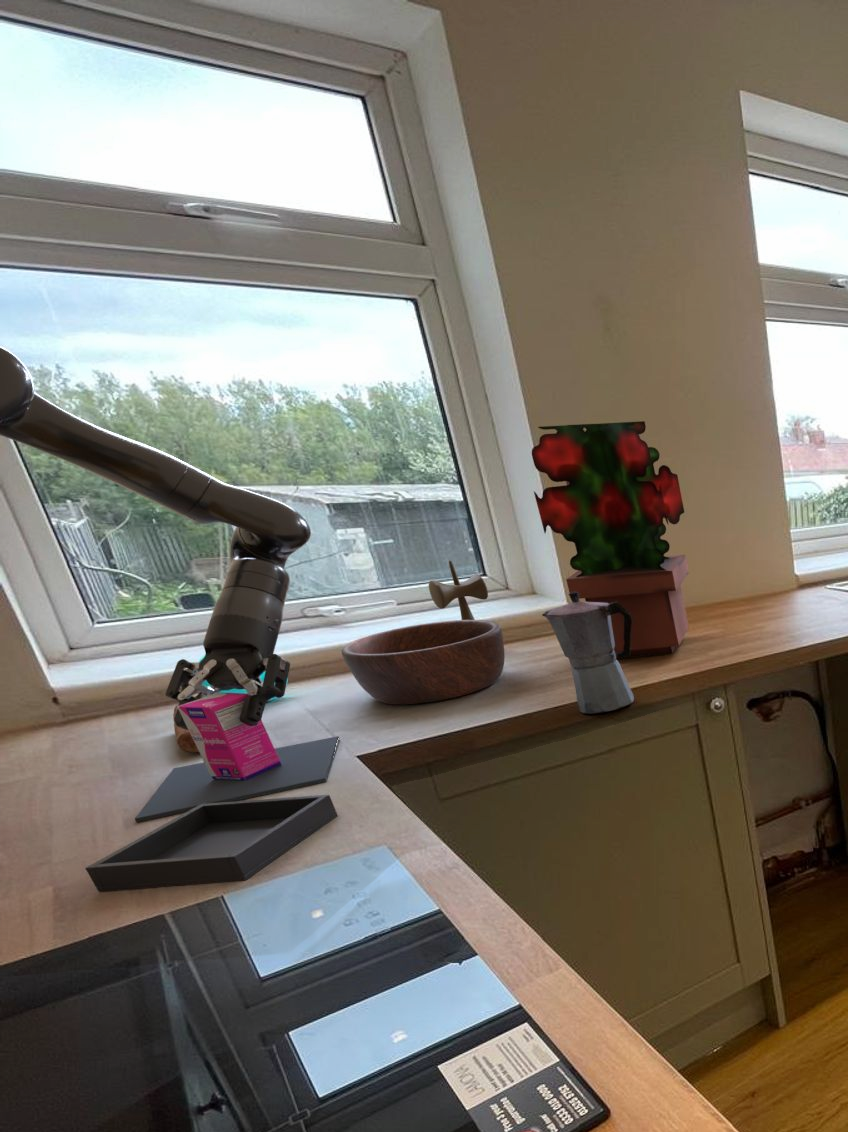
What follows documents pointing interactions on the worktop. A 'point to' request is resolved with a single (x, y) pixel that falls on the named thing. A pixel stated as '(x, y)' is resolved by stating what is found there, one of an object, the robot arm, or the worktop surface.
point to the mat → (199, 787)
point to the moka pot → (593, 652)
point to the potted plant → (617, 527)
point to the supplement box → (228, 737)
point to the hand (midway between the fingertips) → (216, 725)
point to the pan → (213, 843)
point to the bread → (184, 736)
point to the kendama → (458, 592)
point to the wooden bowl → (427, 661)
